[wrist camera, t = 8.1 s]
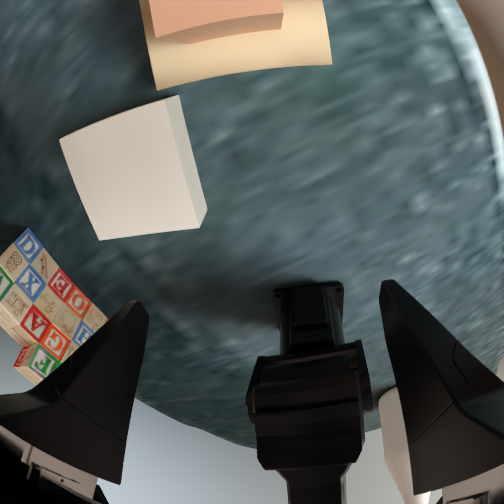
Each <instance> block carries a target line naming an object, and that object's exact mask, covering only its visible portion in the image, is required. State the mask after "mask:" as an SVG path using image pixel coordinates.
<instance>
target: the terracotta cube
mask: <svg viewBox="0 0 504 504" xmlns="http://www.w3.org/2000/svg"><path fill="white" fill-rule="evenodd" d="M149 4H150V10H151V16H152V21H153V27H154V32H155V38H159V39H165V40H171V41H176V42H181V43H186V44H194V43H198V42H202V41H207V40H211V39H216V38H221V37H227V36H232V35H239V34H245V33H252V32H260V31H269V30H280V29H281V27H282V21H283V15H284V10H283V5H282V0H149Z"/></svg>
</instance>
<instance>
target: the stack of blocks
mask: <svg viewBox="0 0 504 504" xmlns="http://www.w3.org/2000/svg"><path fill="white" fill-rule="evenodd" d="M108 320H109V319H108V318H107V317H106V316H105V315H104V314H103V313H102V312H101V311H100V310H99V309H98V308H97V307H96V306H95V305H94V304H93V303H92V302H91V301H90V300H89V299H88V298H87V297H86V296H85V295H84V294H83V293H82V292H81V291H80V290H79V289H78V288H77V286H75V285H74V283H73V282H72V281H71V280H70V279H69V278H68V276H67V275H66V274H65V273H64V272H63V271H62V270H61V269H60V268H59V266H58V265H57V263H56V262H55V261H54V260H53V258H52V257H51V256H50V255H49V253H48V252H47V251H46V250H45V248H44V247H43V246H42V244H41V243H40V242H39V240H38V239H37V238H36V236H35V235H34V234H33V233H32V231H31V230H30V228H27V229H26V230H25V231H24V232H23V233H22V234H21V235H20V236H19V237H18V238H17V239H16V240H15V241H14V242H13V244H11V245H10V246H9V247H8V248H7V250H6V251H5V252H4V253H3V254H2V255H1V256H0V326H1V327H2V328H3V329H4V330H6V332H7V333H8V334H9V335H10V336H11V337H12V338H13V339H15V340H16V341H17V342H18V343H19V344H20V345H22V346H23V347H24V348H22V350H21V352H20V354H19V356H18V358H17V360H16V362H15V364H14V366H13V367H14V368H15V369H16V370H17V371H19V372H20V373H21V374H22V375H23V376H25V377H26V378H27V379H28V380H30V381H31V382H32V383H33V384H35V385H37V384H38V383H40V382H41V381H42V380H43V379H44V378H46V377H47V376H48V375H49V374H50V373H52V372H53V371H54V370H55V369H56V368H57V367H59V366H60V365H61V364H62V363H63V362H64V361H65V360H66V359H67V358H68V357H69V356H70V355H72V353H73V352H75V351H76V350H77V349H78V348H79V347H80V346H81V345H82V344H83V343H84V342H85V341H86V340H87V339H88V338H90V337H91V336H92V335H93V334H94V333H95V332H96V331H97V330H98V329H99V328H100V327H101V326H103V325H104V324H105V323H106V322H107V321H108Z"/></svg>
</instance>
